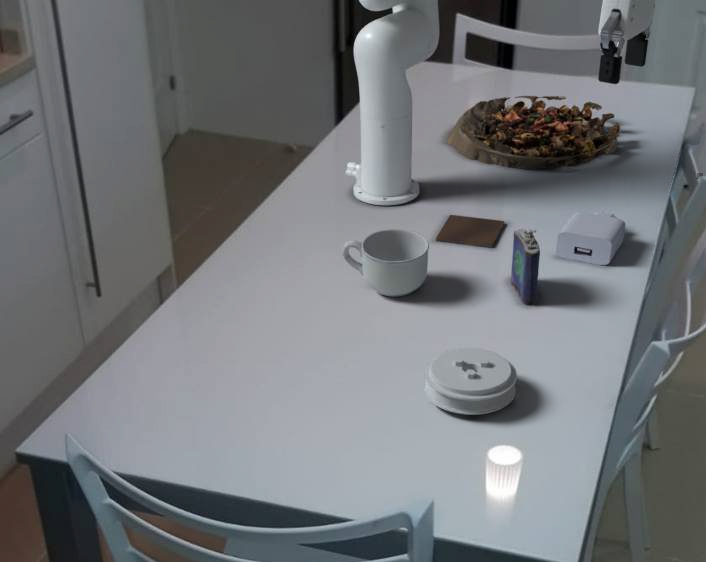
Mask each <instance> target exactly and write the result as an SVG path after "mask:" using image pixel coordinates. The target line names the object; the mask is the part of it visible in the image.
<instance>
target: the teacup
mask: <svg viewBox="0 0 706 562" xmlns="http://www.w3.org/2000/svg"><path fill="white" fill-rule="evenodd" d="M351 248H355V250H357V251H358V253H359V255H360V257H361V259H362V263H361V262H359V261H357V260H356V259H355V258H353V257H352V256H351V254H350V252H349V250H350V249H351ZM429 249H430V243H429V241H428V239H427V238H426V237H425V236H424V235H422V234H421V233H419V232H418V231H417V232H416V231H414V230H410V229H406V228H385V229H380V230H377V231H374V232H372V233H370V234H369V235H367V236H366V237H365V238H363V240H362V242H360V241H359V240H356V239H350V240H348V241H346V242H345V244H344V245H343V246H342V252H341V253H342V257H343V259H344V261H345V263H347V264H348V265H349V266H351V268H353V269H354V270H356V271H358V272H359V273H360V275H361V276H363V278H364V280H365V282H366V284H367V286H369V287H370V288H371V289H372V290H373V291H376V292H377V293H378V294H381V295H383V296H386V297H394V298H397V297H403V296H406V295H409V294H411V293H413V292H414V291H416V290H418V288H420V287H421V286H422V285H423V284H424V282H425V280H426V278H427V273H428V263H429Z"/></svg>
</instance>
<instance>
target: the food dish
mask: <svg viewBox="0 0 706 562" xmlns="http://www.w3.org/2000/svg"><path fill="white" fill-rule="evenodd" d="M514 98H515V99H518V98H519V99H520V98H523V99H529V100H530V101H531V106H530V107H529V108H528V106H525V105H526V103H525V101H523V100H519V101H517V102H516V103H514V104H512V105H508V106H507V107H506V102H507V100H510V99H511V97H506V96H504V97H498V98H492V99H490V100H487V101H486V100H481V101H479V102H477V103H475V104H474V105H473V106H471V107H470V108H468V109H467V110H466V111H464V113H463V114H462V115H461V116H460V117H459V118H458V120H457V121H456V123H455V125H454V127H453V129H452V130H451V131H450V132H449V133H448V135H447V138H446V141H445V143H446V144H448V145H449V146H451V147H452V148H454V149H455V150H456V151H457V153H460V154H462V155H463V156H464V157H466V158H468V159H470V160H474V161H475V160H477V161H480V162H482V163H483V164H493V165H498V166H501V167H506V168H511V167H512V168H517V169H520V170H521V169H522V170H539V169H544V168H545V169H547V168H548V169H552V168H553V169H554V168H558V167H573V166H575V165H579V164H581V163H587V162H589V161H590V160H591V159H592V158H597V157H598V156H600V155H602V154H605V155H610V154H614V153H615V152H616V148H617V145H618V139H619V136H620V133H621V124H619V123H614V124H613V125H612V126H611V127H610V128H609V130H608V133H607V132H606V131H605V128H604V127H605V124H606V122H607V121H608V120H610V119H614V118H615V114H614V113H612V112H610V113H609V112H608V113H603V114H602V115H601V118H600V117H598V116H597V117H596V116H595V117H593V112H592V110H596V111H600V110H602V109H603V106H602V105H600V104H598V103H595V102H592V101H586V102H585V103H584V104H583V106H582V109H581V110H580V107H578V106H576V104H574V105H572V107H571V108H569V106H568V105H567V104H562V106H560V107H556V106H554V105H553V106H552V105H551V106H548V107H547V108H546V106H547V104H546V102H545V100H543V99H547V101H552V100H555V101H562V100H567V96H563V95H561V96H559V95H544V96H537V95H518V96H514ZM539 99H541V100H539ZM545 108H546V109H545ZM592 117H593V118H592Z"/></svg>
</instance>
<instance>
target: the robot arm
mask: <svg viewBox="0 0 706 562" xmlns="http://www.w3.org/2000/svg"><path fill="white" fill-rule="evenodd" d="M358 2H359V3H360V4H361V6H362V7H363V8H365V9H367V10H369V11H371V12H380V11H386V10H389V9H392V13H390V14H387V15H385V16H381V17H380V18H377V19H375V20H372V21H370V22H369V23H367V24H366V25H364V27H362V28H361V29H360V31H359V32H358V34H357V35H356V37H355V39H354V43H353V59H354V64H355V69H356V75H357V81H358V91H359V117H360V118H359V120H360V121H359V122H360V124H359V125H360V163H358V162H356V161H355V162H354V161H349V162H347V165H346V170H345V176H347V177H350V178H354V179H355V180H356V182H355V183H354V185H353V188H352V189H353V196H354V197H355V198H356V199H357V200H359V201H361V202H363V203H366V204H369V205H376V206H397V205H403V204H406V203H408V202H411V201H413V200H415V199H416V198H418V196H419V195H420V184H419V183H418V182H417V181H416V180H415V179H414V178H412V175H413V174H412V172H413V171H412V169H413V168H412V166H413V164H412V163H413V162H412V161H413V94H412V90H411V87H410V84H409V81H408V79H407V75H406V72H407V70H408V69H410V68H412V67H414V66H417V65H419V64H420V63H423V62H425V61H426V60H428V59H429V58H430V57H431V56H433V54H434V53H435V51H436V50H437V48H438V44H439V40H440V16H439V15H440V14H439V0H358ZM655 7H656V0H602V4H601V9H600V16H599V23H598V31H597V33H598V36H599V37H600V43H599V47H600V51H599V55H600V59H599V69H598V78H597V80H598V82H600V83H605V84H611V85H618V84H619V83H620V80H621V72H622V71H621V70H622V65H623V56H622V55H621V54H622V51H623V49H624V45H625V43H626V48H625V56H624V64H625V65H628V66H634V67H640V68H642V67H644V66H645V65H646V61H647V53H648V47H649V38H650V36H651V30H650V28H651V25H652V24H653V18H654V12H655ZM616 42H617V44H616Z"/></svg>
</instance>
